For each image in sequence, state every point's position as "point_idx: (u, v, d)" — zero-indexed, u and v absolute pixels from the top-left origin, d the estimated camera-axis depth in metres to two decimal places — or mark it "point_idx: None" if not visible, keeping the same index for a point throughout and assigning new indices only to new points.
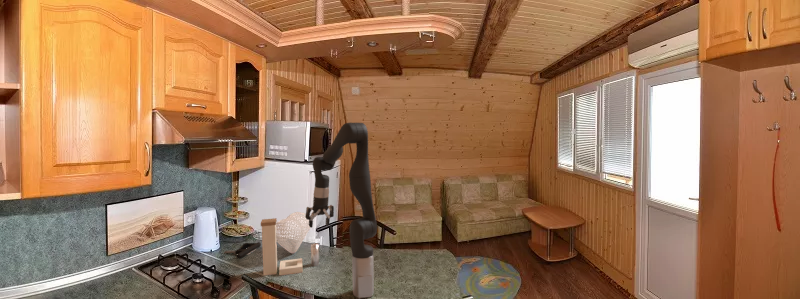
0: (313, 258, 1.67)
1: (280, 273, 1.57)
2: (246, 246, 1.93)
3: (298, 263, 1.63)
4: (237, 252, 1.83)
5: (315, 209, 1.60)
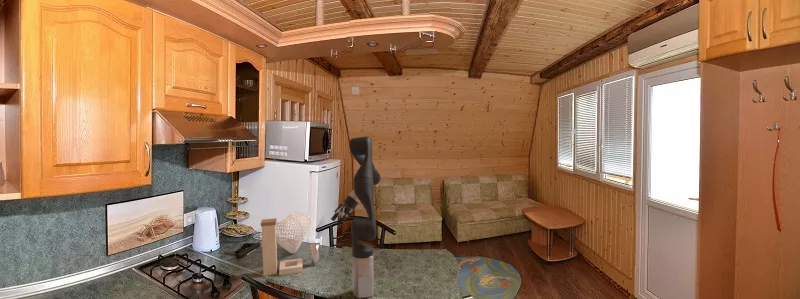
0: (313, 258, 1.67)
1: (280, 273, 1.57)
2: (246, 246, 1.93)
3: (298, 263, 1.63)
4: (237, 252, 1.83)
5: (342, 206, 1.79)
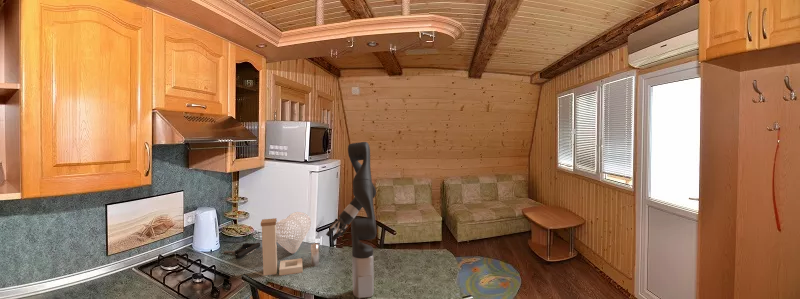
0: (313, 258, 1.67)
1: (280, 273, 1.57)
2: (246, 246, 1.92)
3: (298, 263, 1.63)
4: (236, 252, 1.83)
5: (337, 221, 1.78)
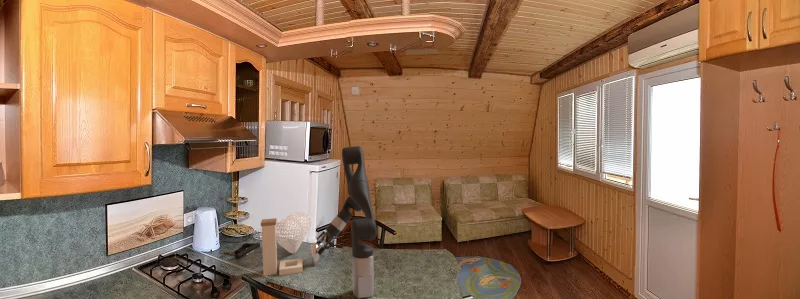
0: (313, 258, 1.67)
1: (280, 273, 1.57)
2: (245, 246, 1.92)
3: (298, 263, 1.63)
4: (236, 252, 1.83)
5: None
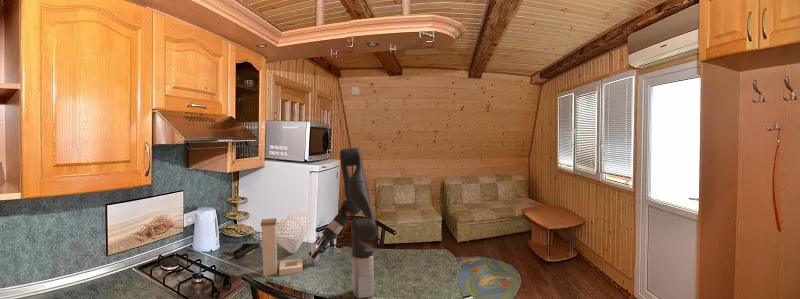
0: None
1: (280, 273, 1.57)
2: (245, 246, 1.92)
3: (298, 263, 1.63)
4: (235, 252, 1.82)
5: (320, 238, 1.73)
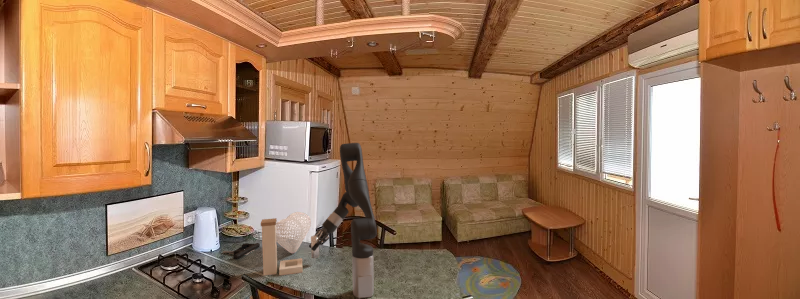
0: None
1: (280, 273, 1.57)
2: (245, 246, 1.92)
3: (298, 263, 1.63)
4: (235, 252, 1.82)
5: (320, 231, 1.73)
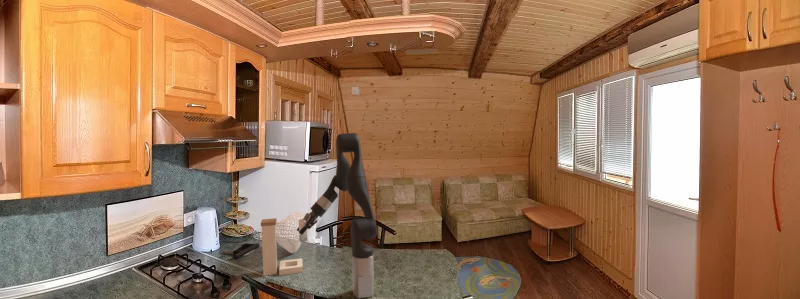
0: None
1: (280, 273, 1.57)
2: (244, 247, 1.92)
3: (298, 263, 1.63)
4: (234, 253, 1.82)
5: None
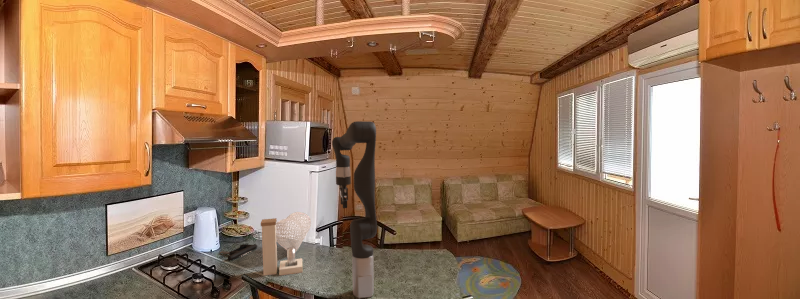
0: (289, 263, 1.61)
1: (280, 273, 1.57)
2: (242, 247, 1.90)
3: (298, 263, 1.63)
4: (231, 253, 1.81)
5: None
